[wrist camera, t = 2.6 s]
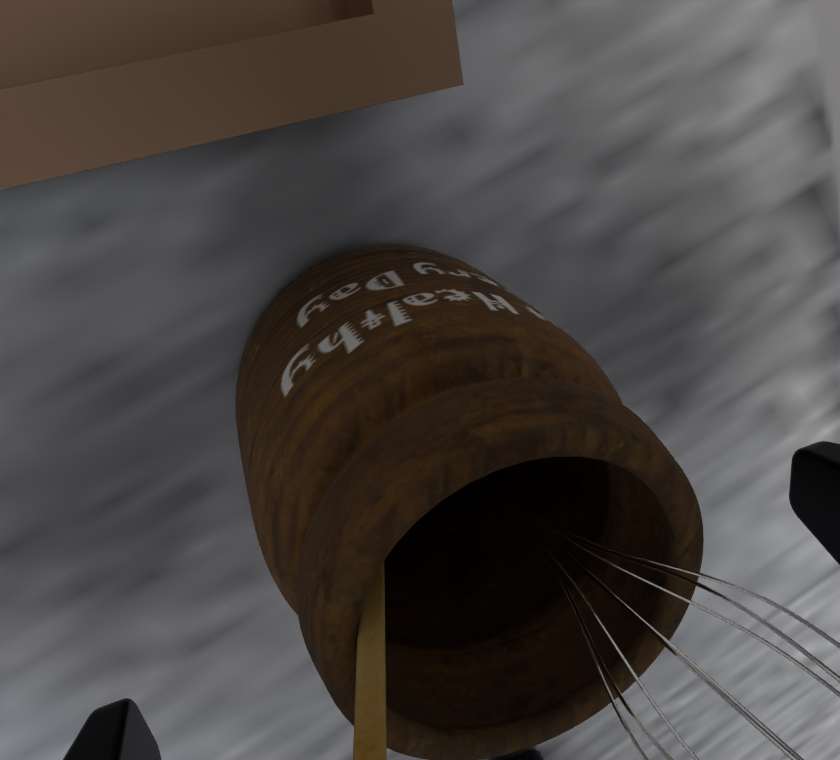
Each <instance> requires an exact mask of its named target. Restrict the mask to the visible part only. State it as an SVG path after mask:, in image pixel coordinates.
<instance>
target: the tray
mask: <svg viewBox="0 0 840 760" xmlns="http://www.w3.org/2000/svg"><path fill="white" fill-rule="evenodd" d="M459 85H463V79H462V71H461V64H460V57H459V50H458V42H457V35H456V28H455V21H454V14H453V6H452V0H0V190H2V189H7V188H11V187H15V186H20V185H24V184H29V183H33V182H37V181H42V180H46V179H51V178H55V177H59V176H64V175H68V174H73V173H77V172H81V171H86V170H90V169H94V168H99V167H103V166H108V165H112V164H116V163H121V162H125V161H130V160H134V159H138V158H143V157H147V156H152V155H156V154H160V153H165V152H169V151H174V150H178V149H182V148H187V147H191V146H196V145H200V144H204V143H209V142H213V141H218V140H222V139H226V138H231V137H235V136H240V135H244V134H248V133H253V132H257V131H262V130H266V129H270V128H275V127H279V126H284V125H288V124H292V123H297V122H301V121H305V120H310V119H314V118H319V117H323V116H327V115H332V114H336V113H341V112H345V111H349V110H354V109H358V108H363V107H367V106H371V105H376V104H380V103H385V102H389V101H393V100H398V99H402V98H407V97H411V96H415V95H420V94H424V93H429V92H433V91H437V90H442V89H446V88H451V87H455V86H459Z"/></svg>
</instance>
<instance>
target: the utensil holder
mask: <svg viewBox="0 0 840 760" xmlns="http://www.w3.org/2000/svg"><path fill="white" fill-rule="evenodd" d="M236 421H237V430H238V439H239V446H240V452H241V458H242V464H243V470H244V476H245V481H246V487H247V492H248V497H249V502H250V507H251V512H252V517H253V521H254V525H255V530H256V533H257V537H258V540H259V543H260V547H261V550H262V553H263V556H264V559H265V561H266V564H267V566H268V568H269V571H270V573H271V575H272V577H273V579H274V581H275V582H276V584H277V586H278V588H279V590H280V591H281V593H282V595H283V597H284V598H285V600H286V601H287V602H288V604H289V605H290V607H291V608H292V609H293V610H294V611H295V612H296V614H297V615H298V617H299V623H300V628H301V631H302V635H303V638H304V641H305V644H306V647H307V649H308V652H309V654H310V656H311V659H312V661H313V663H314V665H315V667H316V669H317V671H318V673H319V675H320V677H321V679H322V680H323V682H324V684H325V686H326V688H327V690H328V692H329V693H330V695H331V697H332V699H333V700H334V702H335V704H336V705H337V707H338V708H339V709H340V711H341V712H342V713H343V715H344V716H345V717H346V718H347V719H348V720H349V721H350V723H351V724H352V725H353V726H354V746H353V760H387V753H386V748H388V749H391V750H393V751H396V752H399V753H402V754H405V755H408V756H412V757H417V758H421V759H428V760H479V759H486V758H492V757H497V756H502V755H506V754H509V753H513V752H517V751H520V750H523V749H526V748H529V747H532V746H535V745H537V744H540V743H542V742H545V741H547V740H549V739H552V738H554V737H556V736H558V735H560V734H562V733H564V732H566V731H568V730H570V729H572V728H573V727H575V726H577V725H579V724H580V723H582V722H584V721H585V720H587V719H588V718H590V717H592V716H593V715H594V714H596V713H597V712H599V711H600V710H602V709H603V708H604V707H606V706H607V705H608V704H610V703H612V705H613V707H614V709H615V711H616V713H617V715H618V717H619V719H620V721H621V723H622V725H623V726H624V728H625V730H626V732H627V734H628V735H629V737H630V739H631V740H632V742H633V744H634V745H635V747H636V749H637V750H638V752H639V753H640V755H641V756H642V758H643V759H644V760H649V759H648V758H647V757H646V755H645V754H644V752H643V751H642V749H641V748H640V746H639V744H638V743H637V741H636V739H635V738H634V736H633V734H632V733H631V731H630V729H629V728H628V726H627V724H626V722H625V720H624V718H623V716H622V714H621V712H620V710H619V708H618V707H617V704H616V702H615V699H616V698H617V697H619V698H620V700H621V701H622V703H623V704H624V706H625V708H626V709H627V711H628V712H629V713H630V715H631V716H632V717H633V719H634V720H635V721H636V723H637V724H638V725H639V727H640V728H641V729H642V731H643V732H644V733H645V734H646V735H647V737H648V738H649V739H650V740H651V741H652V743H653V744H654V745H655V746H656V747H657V749H658V750H659V751H660V752H661V753H662V754H663V755H664V757H665V758H666V759H667V760H673V758H672V757H671V756H670V755H669V754H668V753H667V752H666V751H665V750H664V749H663V747H662V746H661V745H660V744H659V743H658V742H657V740H656V739H655V738H654V737H653V736H652V735H651V733H650V732H649V731H648V730H647V729H646V727H645V726H644V725H643V723H642V722H641V721H640V720H639V718H638V717H637V716H636V714H635V713H634V712H633V710H632V709H631V707H630V706H629V704H628V703H627V701H626V700H625V698H624V697H623V695H622V693H623V692H624V691H625V690H626V689H628V688H629V687H630V686H631V685H632V684H633V683H634V682H635V681H637V683H638V685H639V686H640V687H641V689H642V690H643V692H644V693H645V695H646V696H647V698H648V699H649V701H650V702H651V704H652V705H653V707H654V708H655V709H656V711H657V712H658V714H659V715H660V716H661V718H662V719H663V721H664V722H665V723H666V725H667V726H668V727H669V729H670V730H671V731H672V733H673V734H674V735H675V737H676V738H677V739H678V740H679V742H680V743H681V744H682V746H683V747H684V748H685V749H686V750H687V752H688V753H689V754H690V755H691V756H692V758H693V759H694V760H699V759H698V758H697V756H696V755H695V754H694V753H693V752H692V750H691V749H690V748H689V747H688V746H687V744H686V743H685V742H684V741H683V740H682V738H681V737H680V736H679V734H678V733H677V732H676V730H675V729H674V728H673V727H672V725H671V724H670V723H669V721H668V720H667V718H666V717H665V716H664V714H663V713H662V711H661V710H660V709H659V707H658V706H657V705H656V703H655V702H654V700H653V699H652V697H651V696H650V694H649V693H648V691H647V690H646V688H645V687H644V686H643V684H642V683H641V681H640V680H639V677H640V676H641V675H642V674H643V673H644V672H645V671H646V670H647V668H648V667H649V666H650V665H651V664H652V663H653V661H654V660H655V659H656V658H657V656H658V655H659V654H660V653H661V651H662V650H663V649H664V647H666V648H668V649H669V650H670V651H671V652H672V653H673V654H674V655H675V656H676V657H677V658H679V659H680V660H681V661H682V662H683V663H684V664H685V665H686V666H687V667H689V668H690V669H691V670H692V671H693V672H694V673H695V674H696V675H697V676H699V677H700V678H701V679H702V680H703V681H704V682H705V683H706V684H707V685H709V686H710V687H711V688H712V689H713V690H714V691H715V692H716V693H717V694H719V695H720V696H721V697H722V698H723V699H724V700H725V701H726V702H727V703H729V704H730V705H731V706H732V707H733V708H734V709H735V710H736V711H738V712H739V713H740V714H741V715H742V716H743V717H744V718H745V719H746V720H748V721H749V722H750V723H751V724H752V725H753V726H754V727H755V728H756V729H758V730H759V731H760V732H761V733H762V734H763V735H764V736H765V737H766V738H768V739H769V740H770V741H771V742H772V743H773V744H774V745H775V746H777V747H778V748H779V749H780V750H781V751H782V752H783V753H784V754H785V755H787V756H788V757H789V758H790V759H791V760H804V759H803V758H801V757H800V756H799V755H798V754H797V753H796V752H795V751H794V750H792V749H791V748H790V747H789V746H788V745H787V744H786V743H785V742H783V741H782V740H781V739H780V738H779V737H778V736H777V735H775V734H774V733H773V732H772V731H771V730H770V729H769V728H768V727H766V726H765V725H764V724H763V723H762V722H761V721H760V720H758V719H757V718H756V717H755V716H754V715H753V714H752V713H751V712H749V711H748V710H747V709H746V708H745V707H744V706H743V705H741V704H740V703H739V702H738V701H737V700H736V699H735V698H734V697H732V696H731V695H730V694H729V693H728V692H727V691H726V690H724V689H723V688H722V687H721V686H720V685H719V684H718V683H716V682H715V681H714V680H713V679H712V678H711V677H710V676H708V675H707V674H706V673H705V672H704V671H703V670H702V669H701V668H699V667H698V666H697V665H696V664H695V663H694V662H693V661H691V660H690V659H689V658H688V657H687V656H686V655H685V654H683V653H682V652H681V651H680V650H679V649H678V648H677V647H675V646H674V645H673V644H672V643H671V642H670V641H669V640H670V639H671V637H672V636H673V634H674V632H675V631H676V629H677V627H678V626H679V624H680V622H681V620H682V618H683V616H684V614H685V612H686V610H687V608H688V606H689V603H690V604H692V605H694V606H696V607H698V608H700V609H702V610H704V611H706V612H708V613H710V614H712V615H714V616H716V617H718V618H720V619H721V620H723V621H725V622H727V623H729V624H731V625H733V626H734V627H736V628H738V629H740V630H742V631H744V632H745V633H747V634H749V635H751V636H752V637H754V638H756V639H757V640H759V641H761V642H762V643H764V644H766V645H767V646H769V647H770V648H772V649H774V650H775V651H777V652H778V653H780V654H781V655H783V656H784V657H786V658H787V659H789V660H790V661H792V662H793V663H794V664H796V665H797V666H799V667H800V668H801V669H803V670H804V671H806V672H807V673H809V674H810V675H811V676H813V677H814V678H815V679H816V680H818V681H819V682H820V683H822V684H823V685H824V686H826V687H827V688H828V689H830V690H831V691H832V692H834V693H835V694H836V695H837V696H839V697H840V692H839V691H838V690H836V689H835V688H834V687H832V686H831V685H830V684H828V683H827V682H826V681H824V680H823V679H822V678H820V677H819V676H818V675H816V674H815V673H814V672H812V671H811V670H810V669H808V668H807V667H805V666H804V665H803V664H801V663H800V662H798V661H797V660H795V659H794V658H793V657H791V656H790V655H788V654H787V653H785V652H784V651H782V650H781V649H779V648H777V647H776V646H774V645H773V644H771V643H770V642H768V641H766V640H765V639H763V638H761V637H760V636H758V635H756V634H754V633H753V632H751V631H749V630H748V629H746V628H744V627H742V626H740V625H738V624H737V623H735V622H733V621H731V620H729V619H727V618H725V617H724V616H722V615H720V614H718V613H716V612H714V611H712V610H710V609H708V608H706V607H704V606H702V605H700V604H698V603H696V602H694V601H691V598H692V596H693V593H694V590H695V587H696V586H698V587H700V588H703V589H705V590H707V591H709V592H711V593H713V594H715V595H717V596H719V597H721V598H722V599H724V600H726V601H728V602H729V603H731V604H733V605H734V606H736V607H738V608H739V609H741V610H743V611H744V612H746V613H747V614H749V615H750V616H752V617H753V618H755V619H756V620H758V621H759V622H761V623H762V624H764V625H765V626H767V627H768V628H769V629H771V630H772V631H773V632H775V633H776V634H777V635H779V636H780V637H781V638H783V639H784V640H786V641H787V642H788V643H790V644H791V645H792V646H794V647H795V648H796V649H797V650H799V651H800V652H801V653H803V654H804V655H805V656H806V657H808V658H809V659H810V660H812V661H813V662H814V663H815V664H817V665H818V666H819V667H820V668H822V669H823V670H824V671H826V672H827V673H828V674H829V675H831V676H832V677H833V678H834V679H836V680H837V681H838V682H839V683H840V676H838V675H837V674H836V673H835V672H833V671H832V670H831V669H829V668H828V667H827V666H826V665H824V664H823V663H822V662H821V661H819V660H818V659H817V658H815V657H814V656H813V655H812V654H810V653H809V652H808V651H806V650H805V649H804V648H802V647H801V646H800V645H799V644H797V643H796V642H795V641H793V640H792V639H791V638H789V637H788V636H786V635H785V634H784V633H782V632H781V631H780V630H778V629H777V628H775V627H774V626H773V625H771V624H770V623H769V622H767V621H766V620H764V619H763V618H761V617H760V616H758V615H757V614H755V613H754V612H752V611H751V610H749V609H748V608H746V607H744V606H743V605H741V604H739V603H738V602H736V601H734V600H732V599H731V598H729V597H727V596H726V595H724V594H722V593H720V592H718V591H716V590H714V589H712V588H710V587H708V586H706V585H704V584H701V583H699V582H697V580H698V577H699V576H700V577H703V578H706V579H709V580H712V581H715V582H718V583H721V584H724V585H726V586H729V587H732V588H734V589H737V590H740V591H742V592H744V593H747V594H749V595H751V596H753V597H756V598H758V599H760V600H763V601H765V602H766V603H768V604H770V605H772V606H774V607H776V608H778V609H780V610H782V611H783V612H785V613H787V614H789V615H790V616H792V617H793V618H795V619H797V620H798V621H800V622H801V623H803V624H805V625H806V626H808V627H809V628H811V629H812V630H814V631H815V632H817V633H818V634H820V635H821V636H822V637H824V638H825V639H827V640H828V641H830V642H831V643H833V644H834V645H835V646H837V647H838V648H839V649H840V643H838V642H837V641H836V640H834V639H833V638H831V637H830V636H828V635H827V634H826V633H824V632H823V631H821V630H820V629H818V628H817V627H815V626H814V625H812V624H811V623H809V622H808V621H806V620H804V619H803V618H801V617H800V616H798V615H796V614H795V613H793V612H791V611H790V610H788V609H786V608H784V607H783V606H781V605H779V604H777V603H775V602H773V601H771V600H769V599H767V598H765V597H763V596H761V595H759V594H756V593H754V592H752V591H750V590H747V589H745V588H743V587H740V586H737V585H735V584H732V583H729V582H726V581H724V580H721V579H718V578H715V577H712V576H709V575H705V574H702V573H699V572H700V568H701V562H702V555H703V524H702V517H701V512H700V508H699V504H698V501H697V498H696V495H695V493H694V490H693V488H692V486H691V484H690V482H689V480H688V478H687V476H686V475H685V473H684V472H683V470H682V469H681V467H680V466H679V465H678V463H677V462H676V460H675V459H674V458H673V456H672V455H671V454H670V452H669V451H668V450H667V448H666V447H665V446H664V445H663V443H662V442H661V441H660V440H659V439H658V437H657V436H656V435H655V434H654V432H653V431H652V430H651V429H650V428H649V427H648V426H647V425H646V424H645V423H644V422H643V421H642V420H641V419H640V418H639V417H638V416H637V415H636V414H635V413H633V412H632V411H631V410H629V409H628V408H627V407H626V406H624V405H623V404H622V402H621V399H620V397H619V396H618V394H617V392H616V390H615V388H614V386H613V385H612V383H611V382H610V380H609V379H608V377H607V376H606V375H605V373H604V372H603V371H602V369H601V368H600V367H599V365H598V364H597V363H596V362H595V360H594V359H593V358H592V357H591V356H590V355H589V354H588V353H587V352H586V351H585V350H584V349H583V348H582V347H581V346H580V345H579V344H578V343H577V342H576V341H575V340H574V339H573V338H571V337H570V336H569V335H568V334H567V333H566V332H564V331H563V330H562V329H561V328H559V327H558V326H557V325H556V324H554V323H553V322H552V321H551V320H549V319H548V318H547V317H545V316H544V315H543V314H541V313H540V312H539V311H537V310H536V309H534V308H533V307H532V306H530V305H529V304H527V303H526V302H525V301H523V300H522V299H520V298H519V297H517V296H516V295H515V294H513V293H512V292H510V291H509V290H508V289H506V288H505V287H503V286H502V285H500V284H499V283H497V282H496V281H494V280H493V279H491V278H490V277H488V276H487V275H485V274H484V273H482V272H480V271H479V270H477V269H475V268H473V267H471V266H470V265H468V264H466V263H464V262H462V261H460V260H458V259H455V258H453V257H451V256H448V255H445V254H442V253H438V252H435V251H432V250H428V249H424V248H419V247H412V246H398V245H393V246H376V247H368V248H363V249H358V250H354V251H351V252H347V253H344V254H341V255H339V256H336V257H333V258H331V259H329V260H327V261H325V262H322V263H321V264H319V265H317V266H315V267H313V268H312V269H310V270H309V271H307V272H306V273H304V274H303V275H301V276H300V277H298V278H297V279H296V280H295V281H293V282H292V283H291V284H290V285H289V286H288V287H286V288H285V289H284V290H283V291H282V292H281V293H280V294H279V295H278V296H277V297H276V298H275V300H274V301H273V302H272V303H271V304H270V306H269V307H268V308H267V309H266V311H265V312H264V314H263V315H262V317H261V318H260V320H259V321H258V323H257V325H256V326H255V328H254V330H253V332H252V334H251V336H250V338H249V341H248V343H247V345H246V348H245V351H244V353H243V356H242V360H241V364H240V368H239V374H238V380H237V388H236Z"/></svg>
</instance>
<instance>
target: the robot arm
mask: <svg viewBox="0 0 840 760" xmlns="http://www.w3.org/2000/svg"><path fill="white" fill-rule="evenodd" d="M789 500H790V504H791V507H792V509H793V511H794V512H795V514H796V515H797V517H798V518H799V519H800V520H801V521H802V522H803V523H804V525H805V526H806V527H807V528H808V529H809V530H810V531H811V533H812V534H813V535H814V536H815V537H816V538H817V539H818V541H819V542H820V543H821V544H822V545H823V546H824V548H825V549H826V550H827V551H828V552H829V553H830V554H831V556H832V557H833V558H834V559H835V560H836V561H837V562H838V564H839V565H840V444H837V443H832V442H826V441H821V442H817V443H814V444H811V445H809V446H806V447H803V448H800V449H798V450H797V451H796V452H795V453H794V455H793V457H792V464H791V477H790V490H789ZM63 760H161V755H160V751H159V748H158V745H157V742H156V740H155V738H154V736H153V735H152V733H151V731H150V729H149V727H148V725H147V723H146V722H145V720H144V718H143V716H142V714H141V712H140V710H139V709H138V707H137V705H136V703H135V702H134V701H133V700H131V699H128V698H125V699H122V700H119V701H116V702H114V703H111V704H108V705H105V706H103V707H100V708H98V709H96V710H94V711H93V712H92V713H91V714H90V716H89V717H88V719H87V720H86V722H85V724H84V725H83V727H82V729H81V730H80V732H79V734H78V735H77V737H76V739H75V740H74V742H73V744H72V745H71V747H70V749H69V750H68V752H67V754H66V755H65V757H64V759H63ZM505 760H544V759H543V757H542V756H541V754H540V752H539V751H537V750H528V751H524V752H522V753H519V754H517V755H515V756H512V757H510V758H508V759H505Z"/></svg>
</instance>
